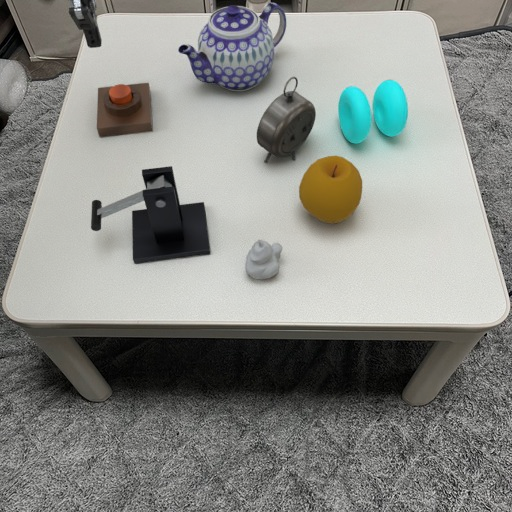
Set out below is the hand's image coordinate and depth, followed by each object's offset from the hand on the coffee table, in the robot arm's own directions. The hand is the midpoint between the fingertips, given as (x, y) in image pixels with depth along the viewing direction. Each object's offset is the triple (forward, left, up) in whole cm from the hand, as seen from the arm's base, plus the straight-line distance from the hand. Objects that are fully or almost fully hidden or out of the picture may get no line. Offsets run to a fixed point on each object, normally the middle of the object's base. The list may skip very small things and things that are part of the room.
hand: (95, 44), depth 84 cm
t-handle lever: (+4, -27, -10) cm, 29 cm away
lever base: (+8, -27, -18) cm, 33 cm away
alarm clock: (+30, -12, -18) cm, 37 cm away
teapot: (+24, +12, -18) cm, 32 cm away
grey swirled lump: (+22, -36, -18) cm, 46 cm away
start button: (+1, +4, -14) cm, 14 cm away
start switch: (+1, +4, -18) cm, 18 cm away
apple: (+34, -27, -18) cm, 47 cm away
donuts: (+46, -9, -18) cm, 50 cm away
